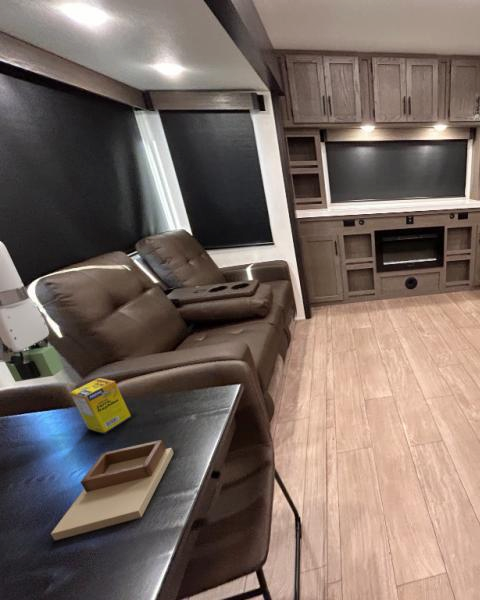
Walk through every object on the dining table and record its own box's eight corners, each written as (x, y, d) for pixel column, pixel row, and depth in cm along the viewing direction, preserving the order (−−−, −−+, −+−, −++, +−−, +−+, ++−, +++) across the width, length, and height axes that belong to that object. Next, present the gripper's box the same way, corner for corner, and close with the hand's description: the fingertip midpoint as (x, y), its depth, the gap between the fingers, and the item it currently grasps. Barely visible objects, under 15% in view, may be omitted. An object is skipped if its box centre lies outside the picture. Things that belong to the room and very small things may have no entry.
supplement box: (132, 418, 78) (115, 380, 74) (105, 436, 72) (84, 396, 69) (117, 414, 80) (99, 377, 76) (88, 431, 74) (68, 392, 70)
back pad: (53, 375, 73) (41, 352, 71) (15, 381, 71) (2, 358, 69) (63, 368, 76) (53, 345, 74) (27, 373, 74) (16, 351, 72)
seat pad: (142, 519, 53) (132, 500, 51) (55, 542, 50) (42, 523, 49) (174, 454, 66) (167, 437, 64) (106, 470, 63) (97, 453, 61)
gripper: (12, 289, 74) (46, 358, 80) (-64, 314, 59) (-15, 397, 65) (51, 285, 76) (81, 353, 82) (-13, 309, 61) (30, 390, 67)
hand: (38, 372), depth 73 cm, fingers closed on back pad, 3 cm apart
